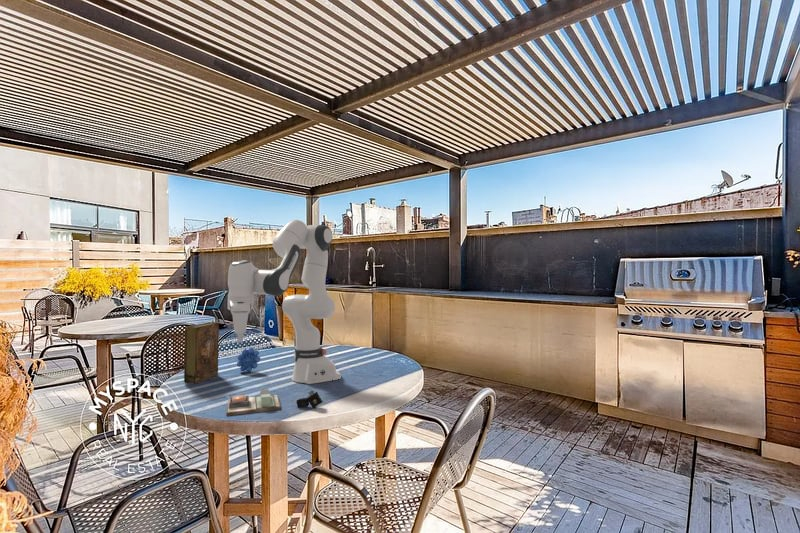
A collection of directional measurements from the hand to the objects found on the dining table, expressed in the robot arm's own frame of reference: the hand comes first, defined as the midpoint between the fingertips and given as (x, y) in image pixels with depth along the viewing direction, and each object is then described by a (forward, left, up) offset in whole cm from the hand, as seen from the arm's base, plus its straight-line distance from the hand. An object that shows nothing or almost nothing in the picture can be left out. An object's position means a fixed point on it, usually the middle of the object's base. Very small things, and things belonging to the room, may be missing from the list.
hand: (240, 341), depth 142 cm
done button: (0, +1, -23) cm, 23 cm away
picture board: (-5, +1, -24) cm, 25 cm away
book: (+16, -43, -24) cm, 52 cm away
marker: (-9, +1, -23) cm, 24 cm away
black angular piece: (-24, +10, -24) cm, 35 cm away
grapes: (-4, -50, -24) cm, 56 cm away
